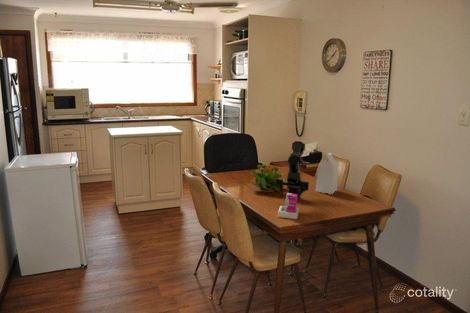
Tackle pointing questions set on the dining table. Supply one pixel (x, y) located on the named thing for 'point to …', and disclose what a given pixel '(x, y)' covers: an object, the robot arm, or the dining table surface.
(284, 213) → the collar
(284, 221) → the dining table surface
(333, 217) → the dining table surface
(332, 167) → the milk
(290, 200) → the supplement box
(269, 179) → the potted flower
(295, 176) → the robot arm
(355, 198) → the dining table surface
